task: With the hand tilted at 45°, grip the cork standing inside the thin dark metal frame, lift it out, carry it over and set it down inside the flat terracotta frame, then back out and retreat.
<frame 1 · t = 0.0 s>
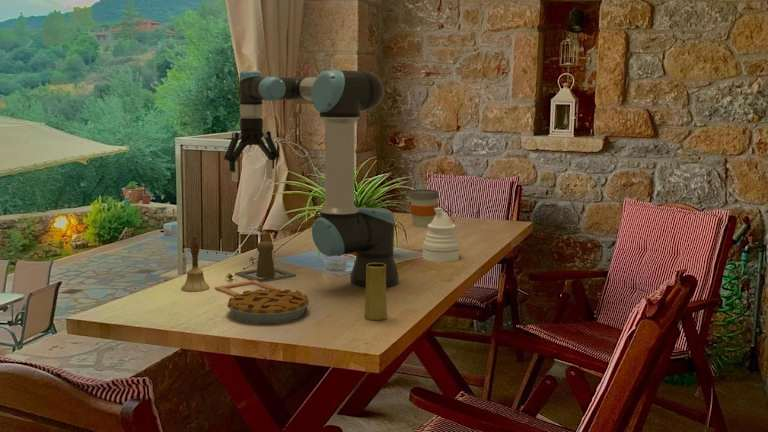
hand: (252, 180, 274), 28 cm above the table, tool pointing down, fingers open, 13 cm apart
pie: (268, 314, 217), on the table
cork: (265, 276, 258), resting in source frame
hand bell: (195, 289, 241), on the table
vase: (375, 317, 214), on the table
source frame: (265, 275, 258), on the table
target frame: (247, 290, 240), on the table
honey pot: (440, 258, 287), on the table
reusable coffee cup: (423, 225, 349), on the table
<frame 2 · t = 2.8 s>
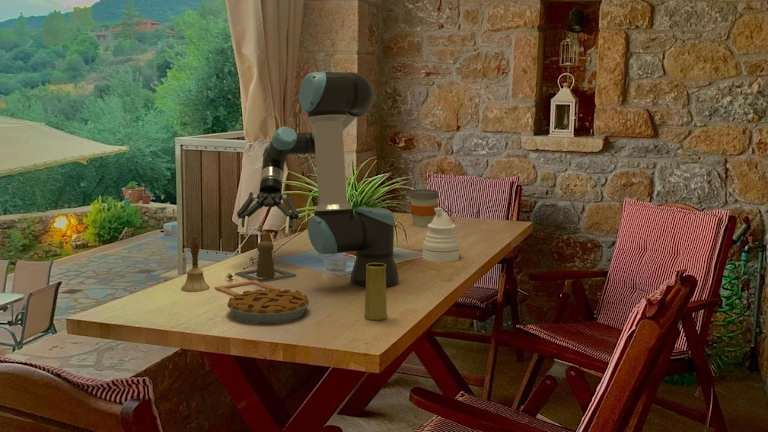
hand: (266, 235, 262), 12 cm above the table, tool tilted 45°, fingers open, 13 cm apart
nothing on the table moved.
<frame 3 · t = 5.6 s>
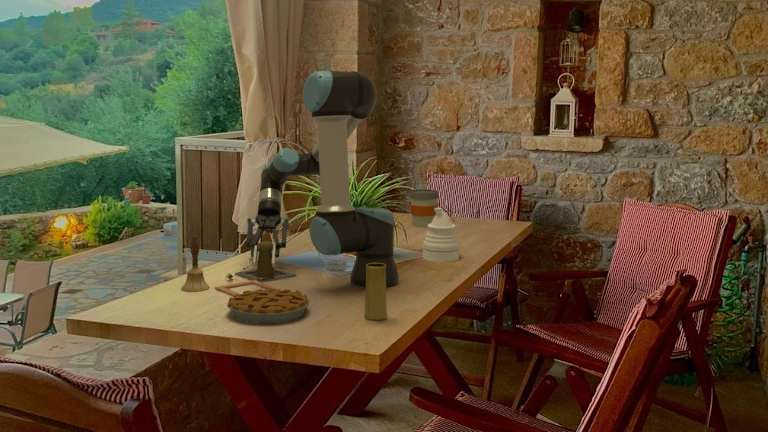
hand: (263, 264, 253), 4 cm above the table, tool tilted 45°, fingers closed on cork, 5 cm apart
cork: (265, 276, 258), resting in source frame, touching gripper
everything else where it was.
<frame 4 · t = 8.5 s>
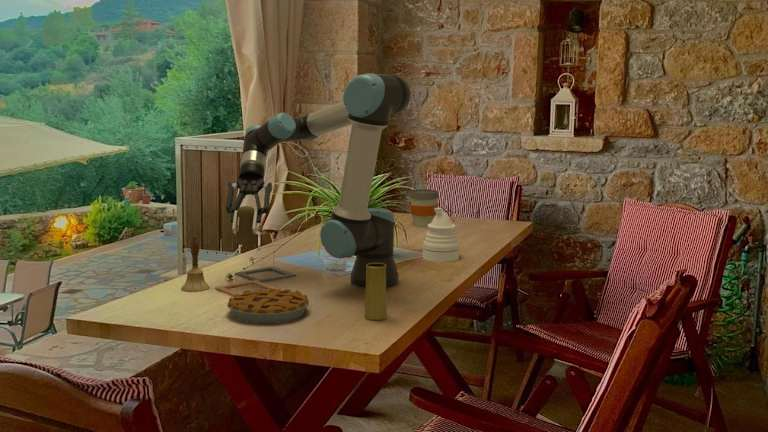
hand: (244, 231, 236), 18 cm above the table, tool tilted 45°, fingers closed on cork, 5 cm apart
cork: (246, 243, 240), point 14 cm above the table, touching gripper
everything else where it was.
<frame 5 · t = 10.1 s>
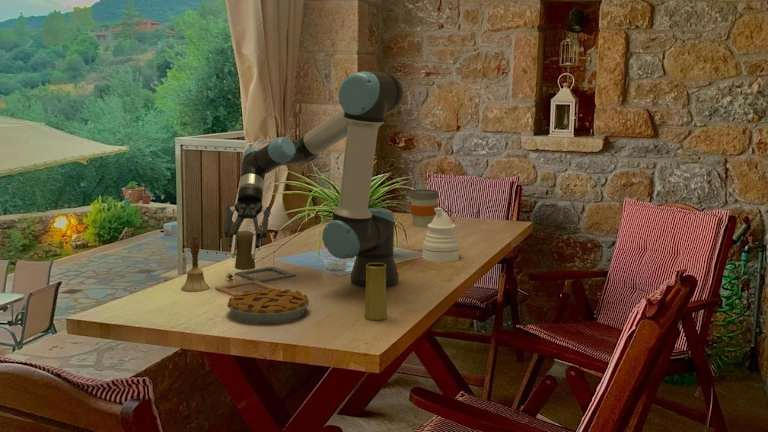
hand: (242, 256, 235), 11 cm above the table, tool tilted 45°, fingers closed on cork, 5 cm apart
cork: (245, 268, 239), point 7 cm above the table, touching gripper
everything else where it was.
when the fingers open (6 cm above the table, at t = 11.4 s): cork drops 1 cm, resting in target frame.
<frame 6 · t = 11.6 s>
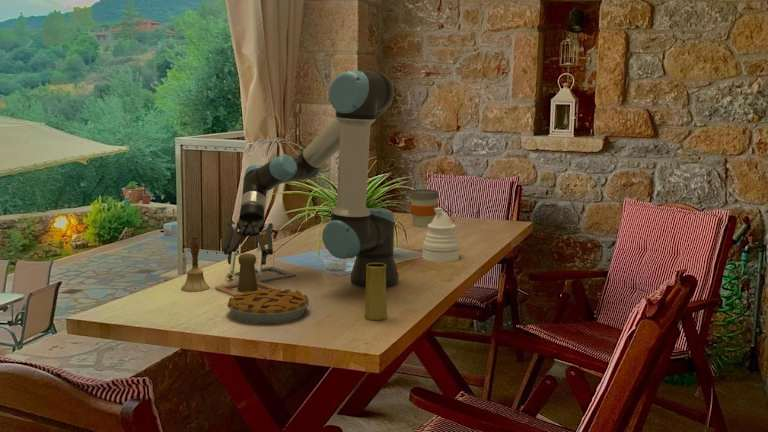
hand: (245, 273, 235), 6 cm above the table, tool tilted 45°, fingers open, 7 cm apart
cork: (247, 290, 240), resting in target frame
everything else where it was.
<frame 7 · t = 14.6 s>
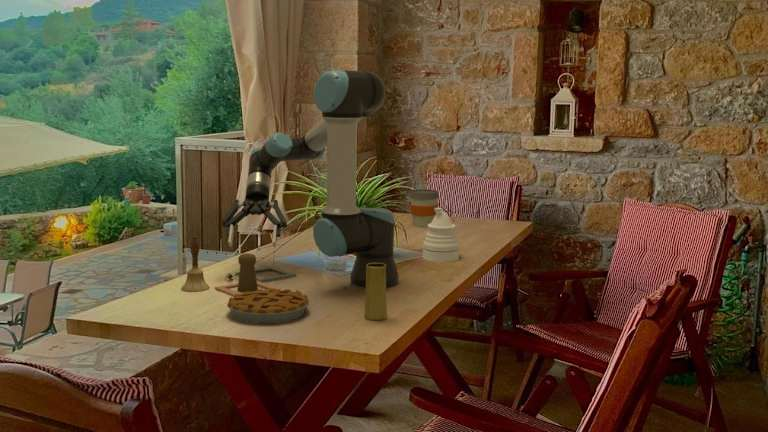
hand: (252, 244, 248), 12 cm above the table, tool tilted 45°, fingers open, 13 cm apart
nothing on the table moved.
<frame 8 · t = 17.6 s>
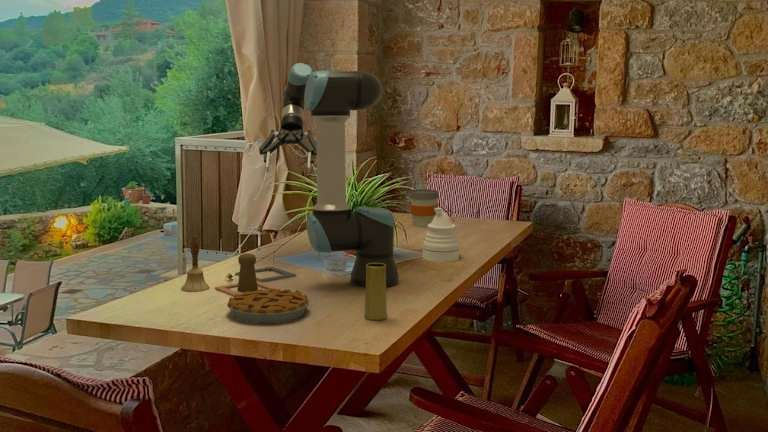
hand: (288, 169, 264), 33 cm above the table, tool tilted 45°, fingers open, 13 cm apart
nothing on the table moved.
at the end: cork 0.1 cm off-centre on the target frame, point 0.0 cm above the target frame's base; cork tilted 0°; the gripper is holding nothing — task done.
